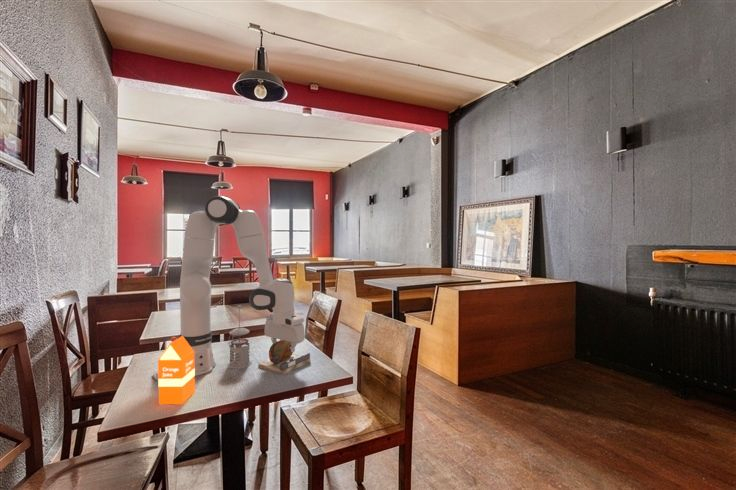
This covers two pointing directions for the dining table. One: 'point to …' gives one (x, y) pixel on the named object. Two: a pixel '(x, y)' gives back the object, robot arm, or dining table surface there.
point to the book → (276, 367)
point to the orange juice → (176, 373)
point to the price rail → (294, 361)
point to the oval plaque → (280, 351)
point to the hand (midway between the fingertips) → (283, 349)
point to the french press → (239, 348)
